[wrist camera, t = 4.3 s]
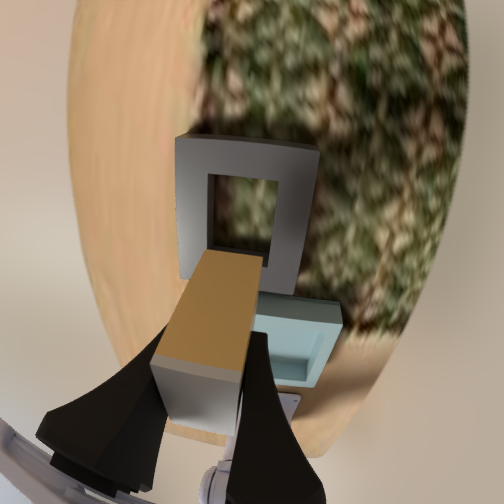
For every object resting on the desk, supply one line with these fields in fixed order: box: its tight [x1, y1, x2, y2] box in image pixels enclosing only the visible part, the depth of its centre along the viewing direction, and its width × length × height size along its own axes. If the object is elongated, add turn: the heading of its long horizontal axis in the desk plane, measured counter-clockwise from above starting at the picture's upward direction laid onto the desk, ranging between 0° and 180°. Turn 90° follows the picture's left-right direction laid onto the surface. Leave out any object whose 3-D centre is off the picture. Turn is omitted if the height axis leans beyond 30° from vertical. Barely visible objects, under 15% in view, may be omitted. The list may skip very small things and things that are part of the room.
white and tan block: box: [150, 249, 263, 436], centre depth 11 cm, size 4×3×6 cm, turn 176°
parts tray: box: [254, 292, 343, 388], centre depth 23 cm, size 9×10×2 cm
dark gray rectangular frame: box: [175, 133, 320, 295], centre depth 18 cm, size 10×8×2 cm
